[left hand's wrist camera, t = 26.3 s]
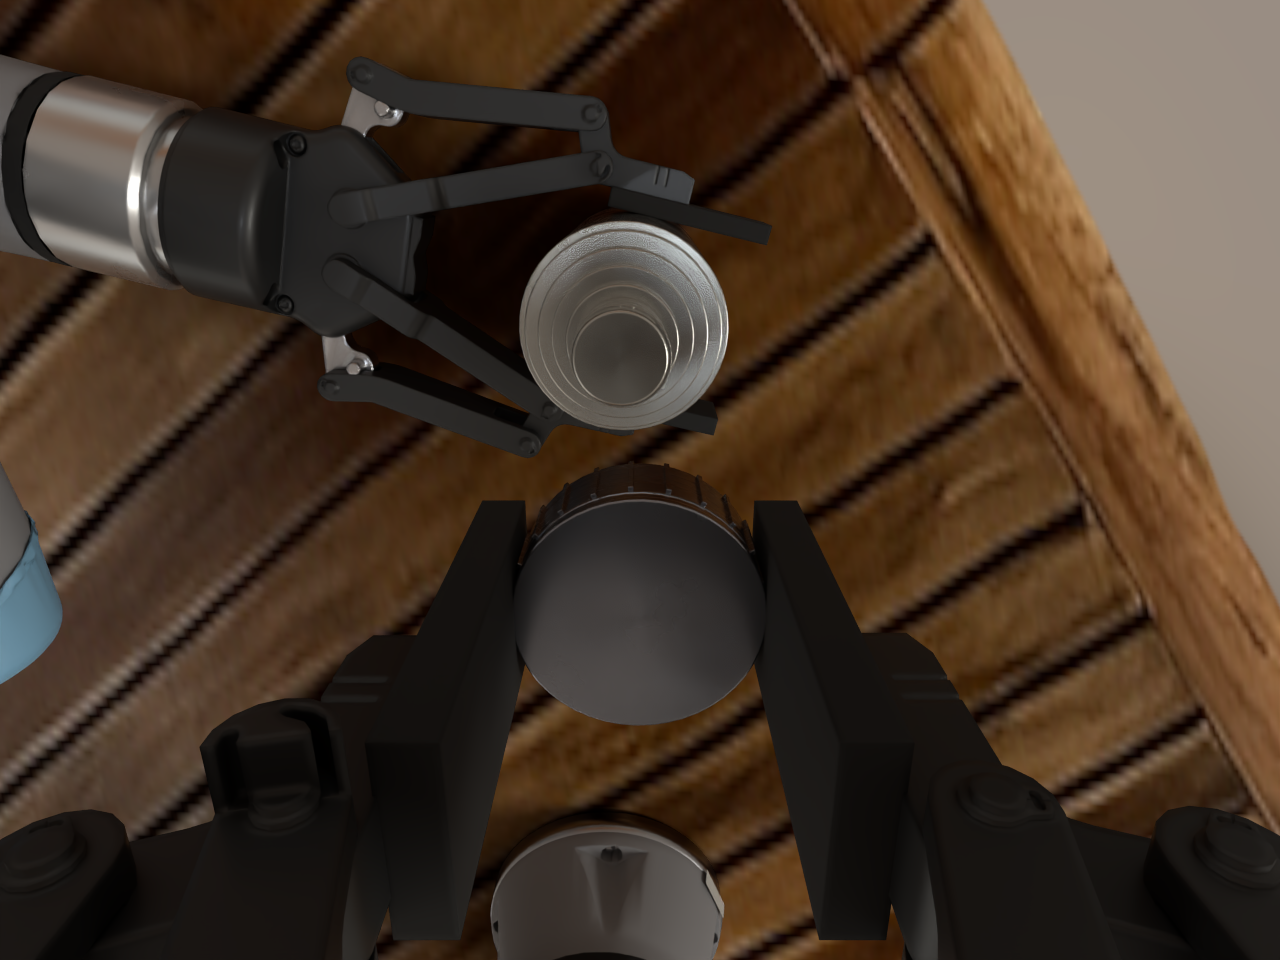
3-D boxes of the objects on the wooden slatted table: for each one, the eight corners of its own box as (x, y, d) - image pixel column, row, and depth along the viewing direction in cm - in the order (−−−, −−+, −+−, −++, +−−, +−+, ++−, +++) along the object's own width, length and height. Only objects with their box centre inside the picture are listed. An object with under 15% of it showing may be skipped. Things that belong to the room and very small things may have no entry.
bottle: (616, 386, 42) (599, 517, 26) (524, 269, 40) (445, 335, 24) (733, 299, 40) (792, 382, 24) (644, 172, 38) (644, 173, 22)
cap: (795, 611, 15) (814, 665, 13) (594, 703, 16) (588, 764, 14) (691, 417, 14) (698, 449, 12) (476, 526, 14) (456, 571, 13)
